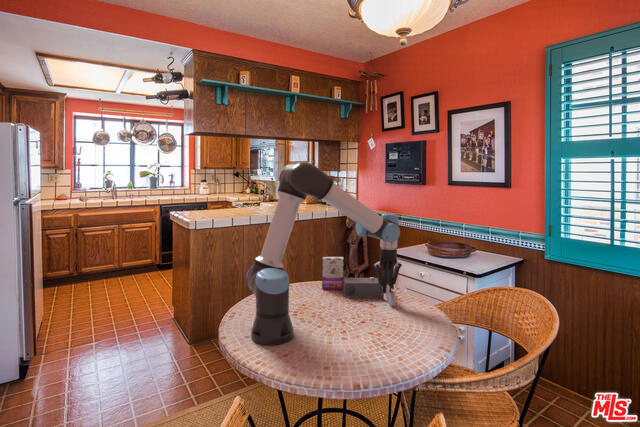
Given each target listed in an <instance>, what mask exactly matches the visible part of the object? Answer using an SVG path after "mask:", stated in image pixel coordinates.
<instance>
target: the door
mask: <svg viewBox="0 0 640 427" xmlns="http://www.w3.org/2000/svg"><path fill="white" fill-rule="evenodd" d="M381 298H382V299H384V293H383V291H382V297H381ZM387 302H388V304H390V305H391V306H392V307H396V302H398V296H397V295H396V291H394V290H393V289H392V288H391V293H389V301H387Z"/></svg>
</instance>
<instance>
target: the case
mask: <svg viewBox="0 0 640 427" xmlns="http://www.w3.org/2000/svg"><path fill="white" fill-rule="evenodd" d="M382 289H383V285H381V284H379V282H378V277H373V276H372V277H371V276H370V277H344V278H343V290H342V292H343V296H344V298H382Z"/></svg>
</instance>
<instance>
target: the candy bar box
mask: <svg viewBox="0 0 640 427" xmlns="http://www.w3.org/2000/svg"><path fill="white" fill-rule="evenodd" d="M321 261H322V262H321V263H322V264H321V265H322V266H321V267H322V274H321V275H322V276H321V281H322V282H321V284H322V285H321V289H322V290H325V291H327V290H328V291H330V290H332V291H343V278H345V273H344V272H345V258H344V256H322V260H321Z"/></svg>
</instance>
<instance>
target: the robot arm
mask: <svg viewBox="0 0 640 427" xmlns="http://www.w3.org/2000/svg"><path fill="white" fill-rule="evenodd" d="M278 176H279V177H278V182H279V184H278V188H277V191H276V193H277V195H278V200H277V204H276V207H275V210H274V212H273V215H272V218H271V222H270V225H269V228H268V231H267V234H266V237H265V240H264V244H263V246H262V249H261V252H260V255H258V256H256V257H255V258H254V261H253V264H252V266H251V267H250V268H249V269H248V271H247V273H246V284H247V287H248V289H249V290H250V291H251V292H252V294H253V295H254V297H255V318H254V321H253V324H252V327H251V330H250V338H251V340H252V341H253V342H255V343H257V344H259V345H264V346H278V345H282V344H284V343H287V342H289V341H291V340H292V339H293V338H294V332H295V331H294V330H295V329H294V326H293V323H292V320H291V317H290V308H289V307H290V301H289V300H290V278H289V274H288V272H287V271H285V270H284V267H285V266H284V265H283V263H282V260H283V259H284V254H285V252H286V249H287V246H288V242H289V239H290V236H291V234H292V230H293V227H294V223H295V220H296V218H297V215H298V211H299V210H300V206H301V204H302V203H304V202H306V199H307V196H310V197H312V198H314V199H316V201H319V202H321V201H323V202H325V203H326V204H328V205H329V206H331V207H332V208H334V209H335V210H336V211H338V212H340V213H341V214H342V215H344V216H346V217H347V218H349V219H351V220H352V221H353V222H354V223H355V231H356V234H357V235H358V236H359V237H364V238H365V237H371V238H374V239H378V240H380V241H379V242H380V243H379V247H380V248H379V259H378V262H376V263H373V267H374V268H375V272H376V276H377V277H376V278H378V282H379V284H381V285H382V291H383V293H384V298H383V299H384V300H385V301H386V302H388V301H389V293H391V289H392V288H393V286H394V285H396V284H397V279H398V276H399V272H400V269H401V267H402V266H403V264H402V263H400V262H399V261H398V259H397V256H398V239H399V237H400V236H401V230H400V226H399V215H397V213H396V214H395V213H388V212H386V213H381V215H379V214H378V213H377V212H376V211H374V210H372V209H371V208H370V207H368V206H367V205H365V204H364V203H362V202H361V201H360V200H358V199H357V198H355V196H353V195H351V194H350V193H348V192H347V191H346V190H344V189H342V188H341V187H340V186H338V185H337V184H336V183H335V179H334V178H332V177H331V176H329V175H328V174H327V173H326V172H325V171H323V170H321V169H320V168H319V167H317V166H316V165H315V164H312V163H310V162H307V161H305V162H292V163H289V164H287V165H285V166H284V167H282V169H281V171H280V172H279V175H278ZM381 269H382V271H381Z"/></svg>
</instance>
